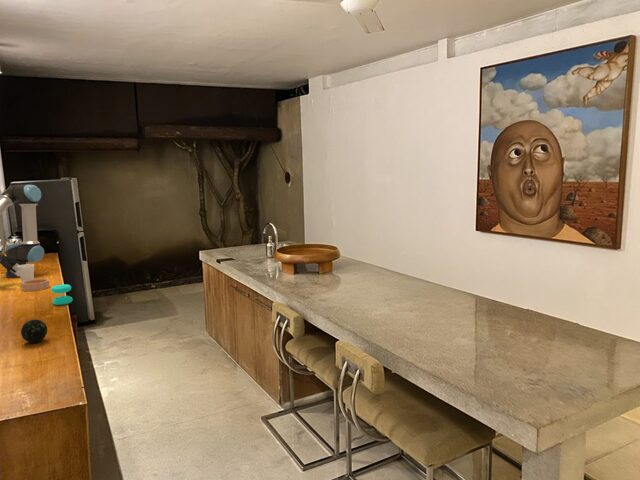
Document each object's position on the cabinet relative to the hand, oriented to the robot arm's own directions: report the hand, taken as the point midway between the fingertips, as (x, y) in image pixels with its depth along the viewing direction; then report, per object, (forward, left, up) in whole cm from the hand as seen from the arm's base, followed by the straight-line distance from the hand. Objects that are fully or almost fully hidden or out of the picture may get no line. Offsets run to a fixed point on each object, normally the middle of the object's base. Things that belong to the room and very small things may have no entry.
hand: (22, 273), depth 321 cm
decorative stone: (+126, +19, -9) cm, 128 cm away
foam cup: (-1, +2, -9) cm, 9 cm away
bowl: (+13, +8, -8) cm, 18 cm away
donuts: (+61, +26, -9) cm, 67 cm away
